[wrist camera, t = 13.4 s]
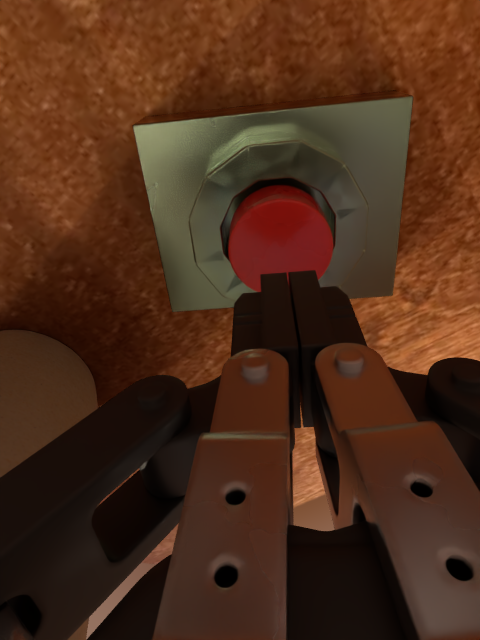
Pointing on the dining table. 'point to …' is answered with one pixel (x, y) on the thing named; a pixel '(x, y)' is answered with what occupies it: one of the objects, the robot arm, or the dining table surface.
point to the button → (278, 235)
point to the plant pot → (40, 399)
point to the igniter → (277, 169)
